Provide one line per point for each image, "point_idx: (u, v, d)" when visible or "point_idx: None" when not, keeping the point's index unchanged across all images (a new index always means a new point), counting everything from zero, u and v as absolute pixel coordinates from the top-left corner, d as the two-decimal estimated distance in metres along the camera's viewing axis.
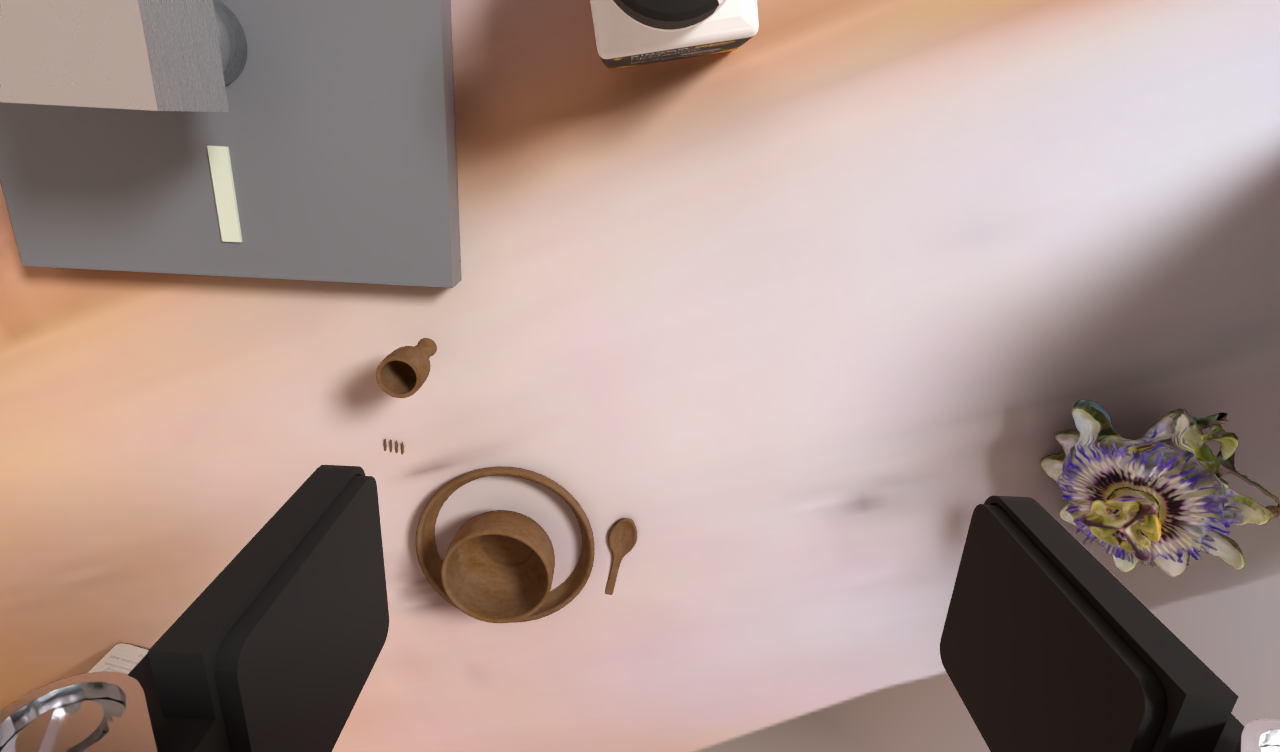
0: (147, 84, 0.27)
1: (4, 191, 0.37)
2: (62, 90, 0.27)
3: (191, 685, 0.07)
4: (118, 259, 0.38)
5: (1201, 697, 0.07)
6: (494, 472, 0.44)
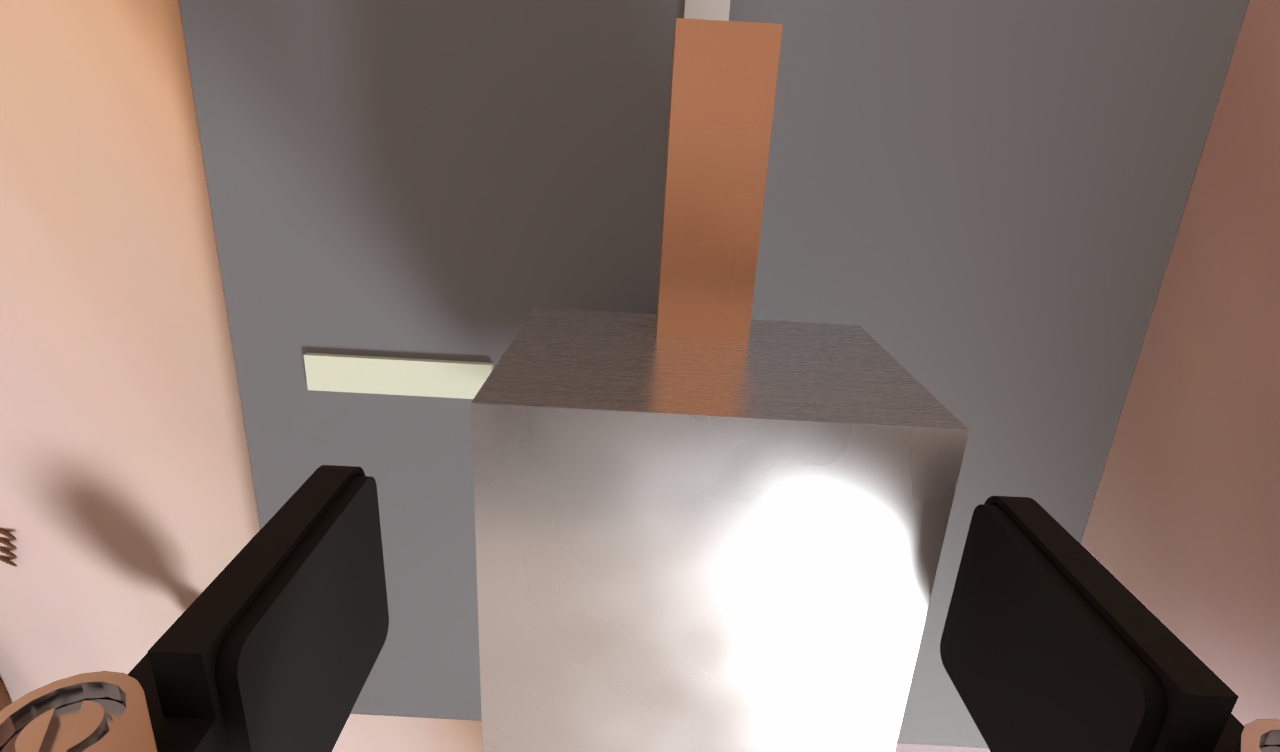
0: None
1: None
2: (517, 589, 0.10)
3: (191, 685, 0.07)
4: (221, 108, 0.16)
5: (1201, 697, 0.07)
6: None
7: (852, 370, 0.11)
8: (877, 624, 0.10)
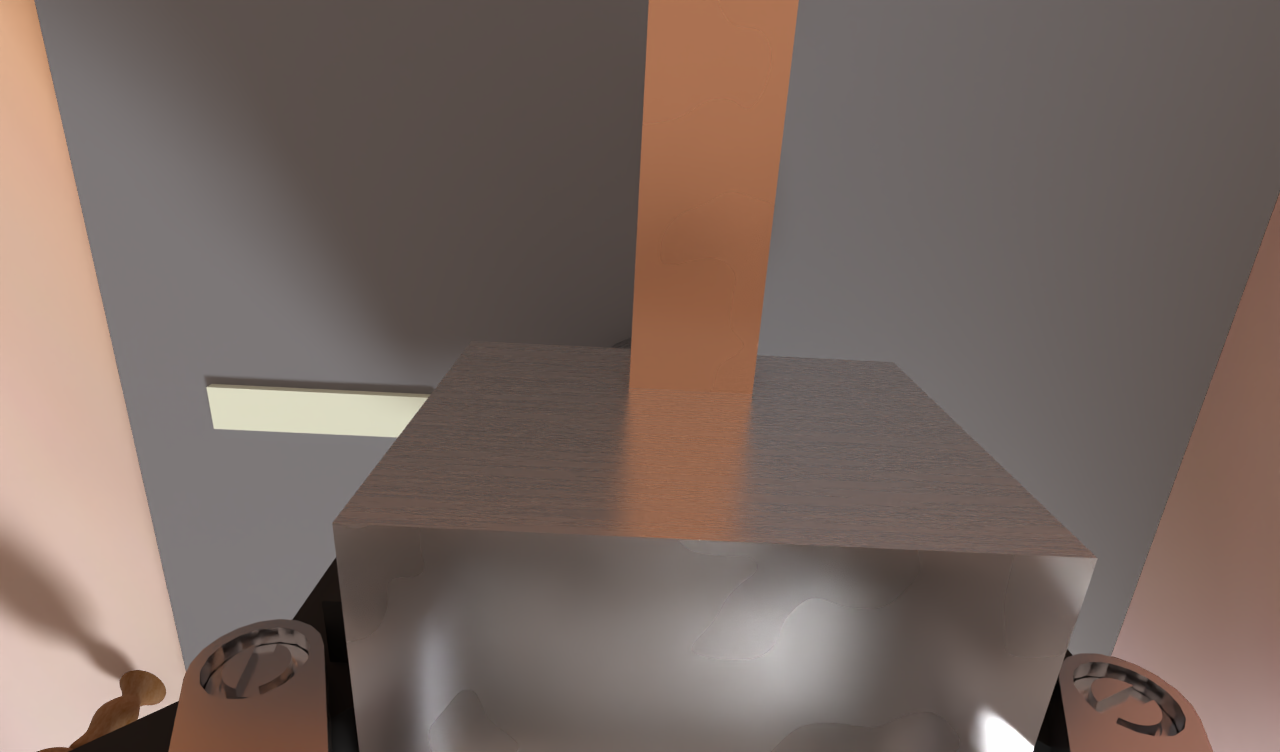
0: None
1: None
2: None
3: None
4: (87, 83, 0.13)
5: None
6: None
7: (899, 441, 0.08)
8: None
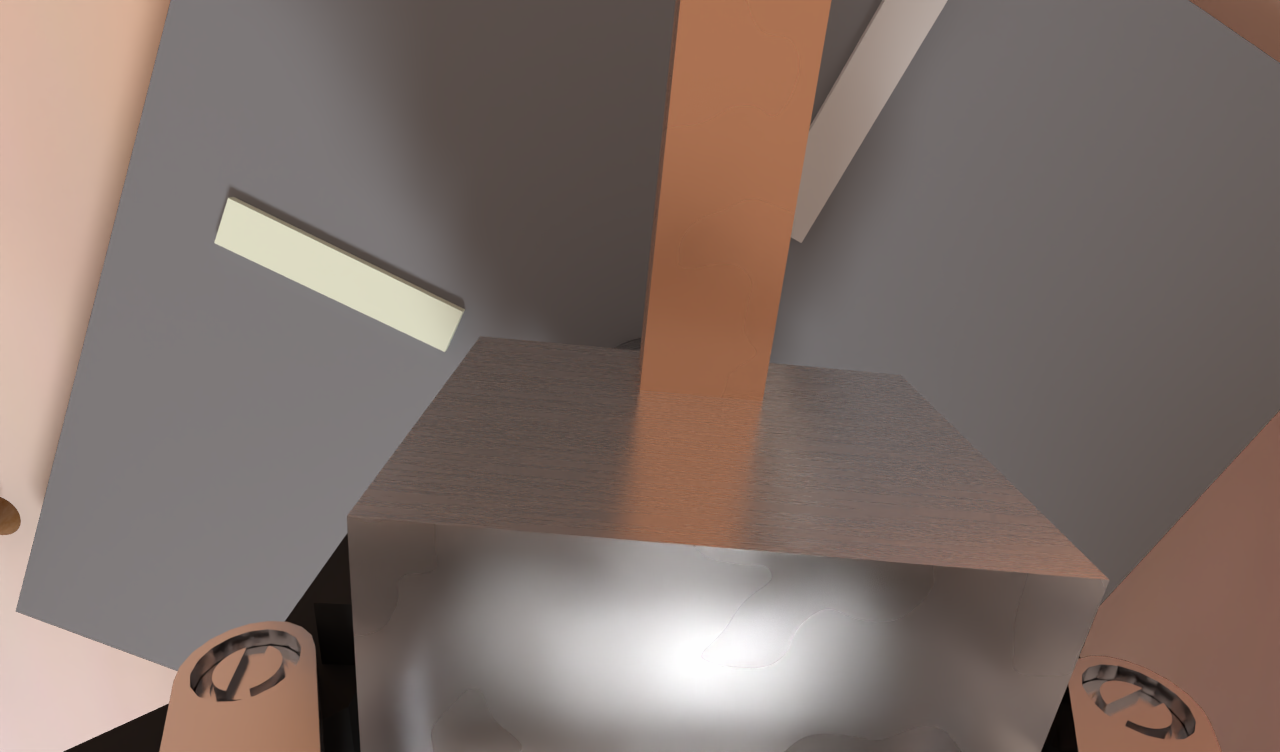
0: None
1: None
2: None
3: (349, 634, 0.07)
4: None
5: None
6: None
7: (910, 455, 0.08)
8: None
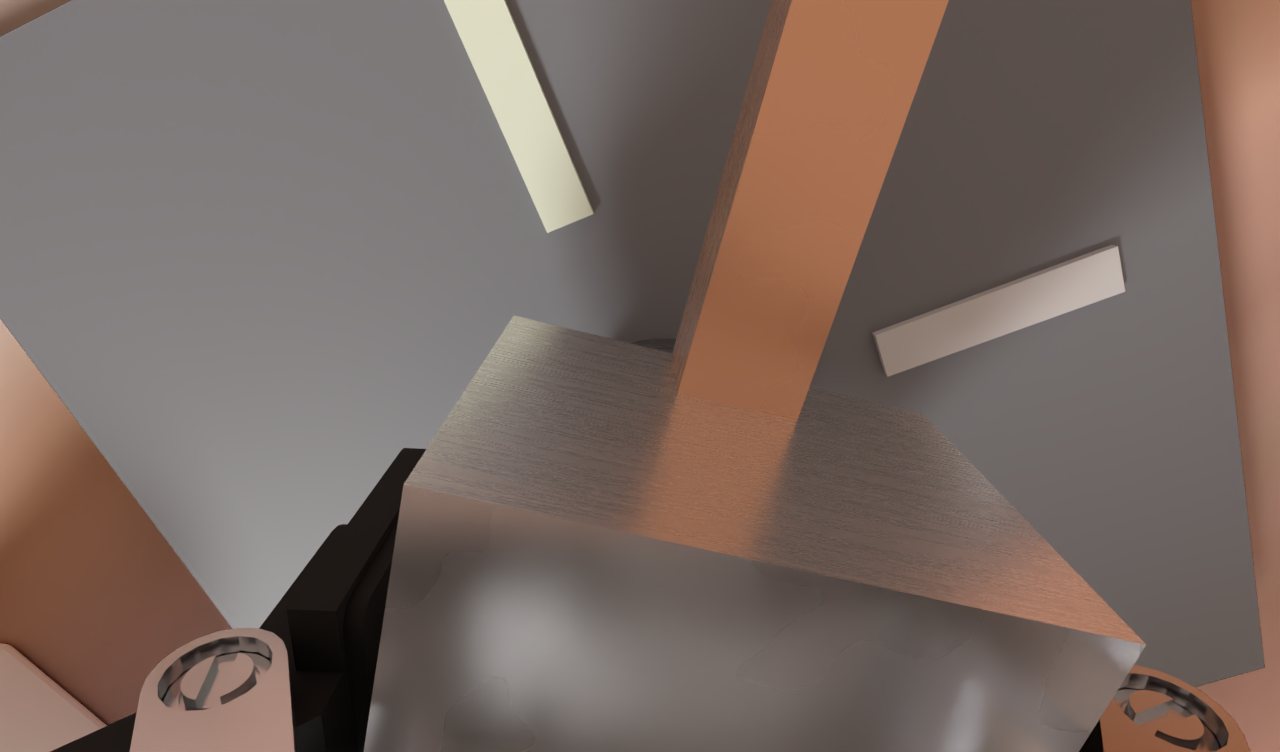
0: None
1: None
2: None
3: (323, 640, 0.07)
4: None
5: None
6: None
7: (943, 495, 0.08)
8: None
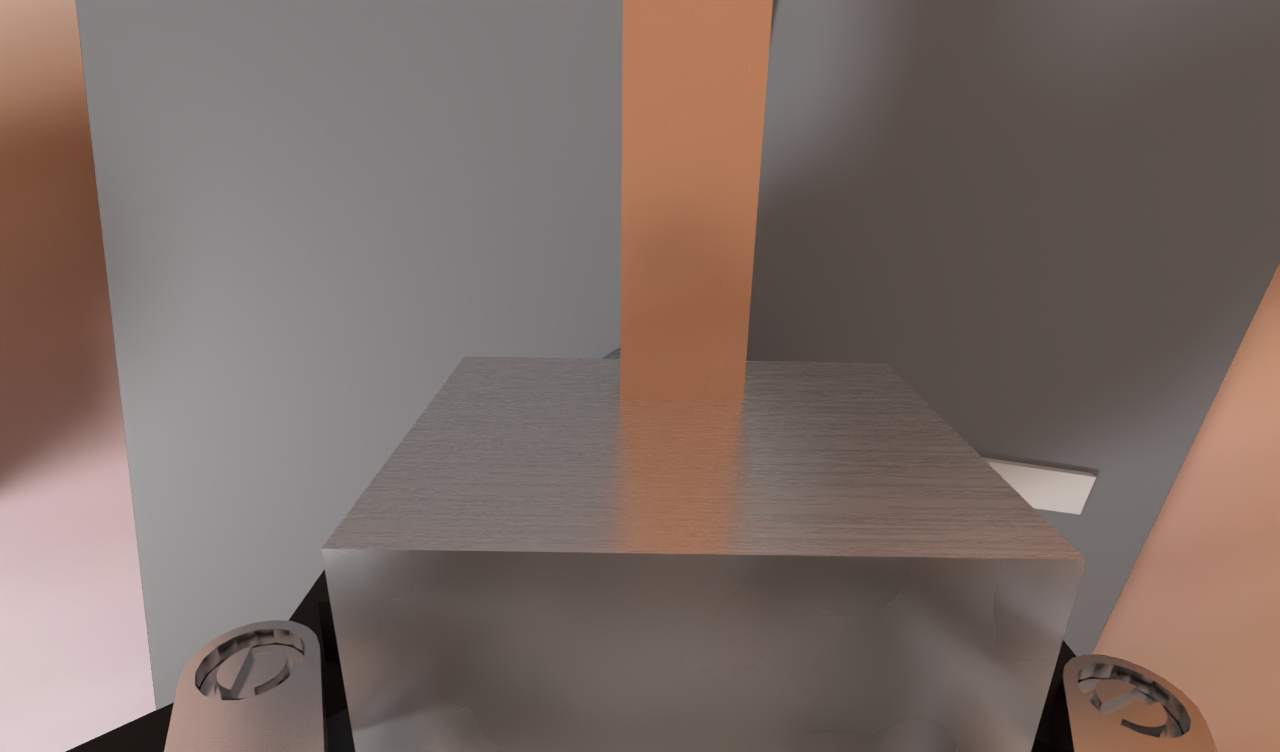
0: None
1: None
2: None
3: None
4: None
5: None
6: None
7: (889, 446, 0.08)
8: None
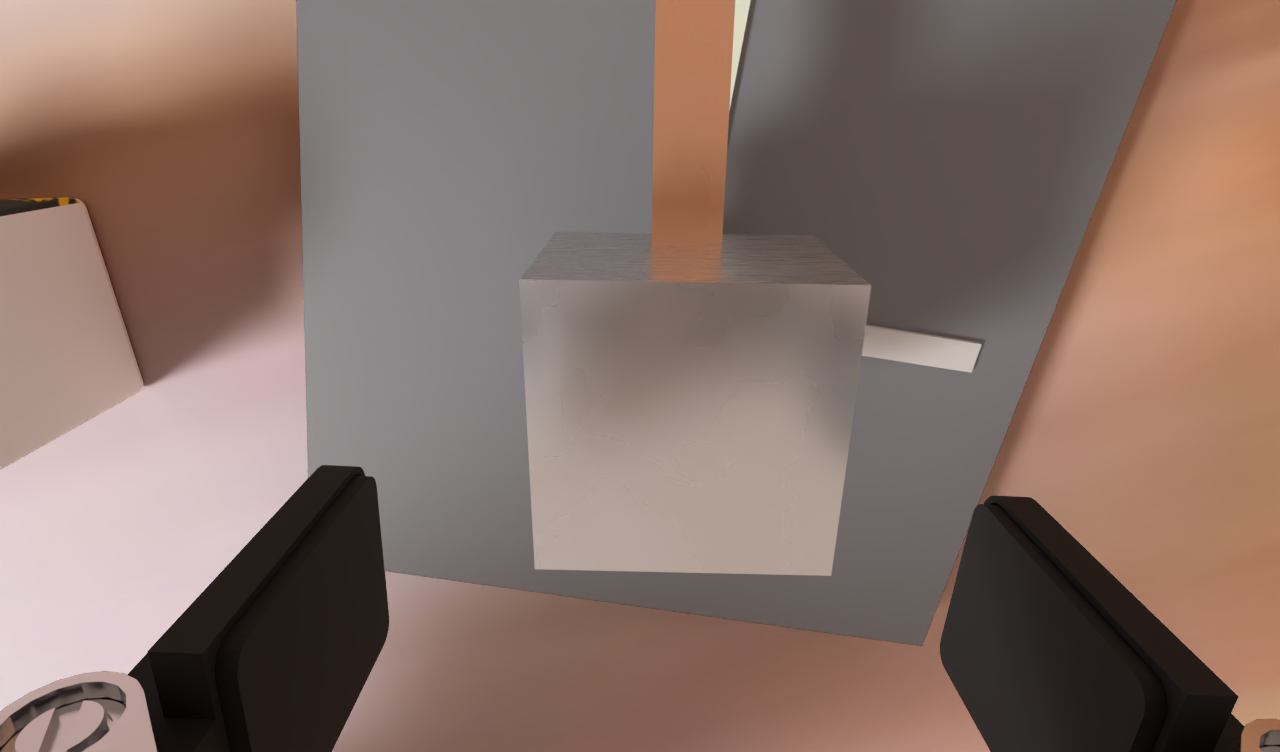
0: (578, 563, 0.15)
1: (1131, 110, 0.20)
2: (555, 420, 0.14)
3: (191, 685, 0.07)
4: None
5: (1201, 697, 0.07)
6: None
7: (797, 259, 0.14)
8: (816, 437, 0.14)
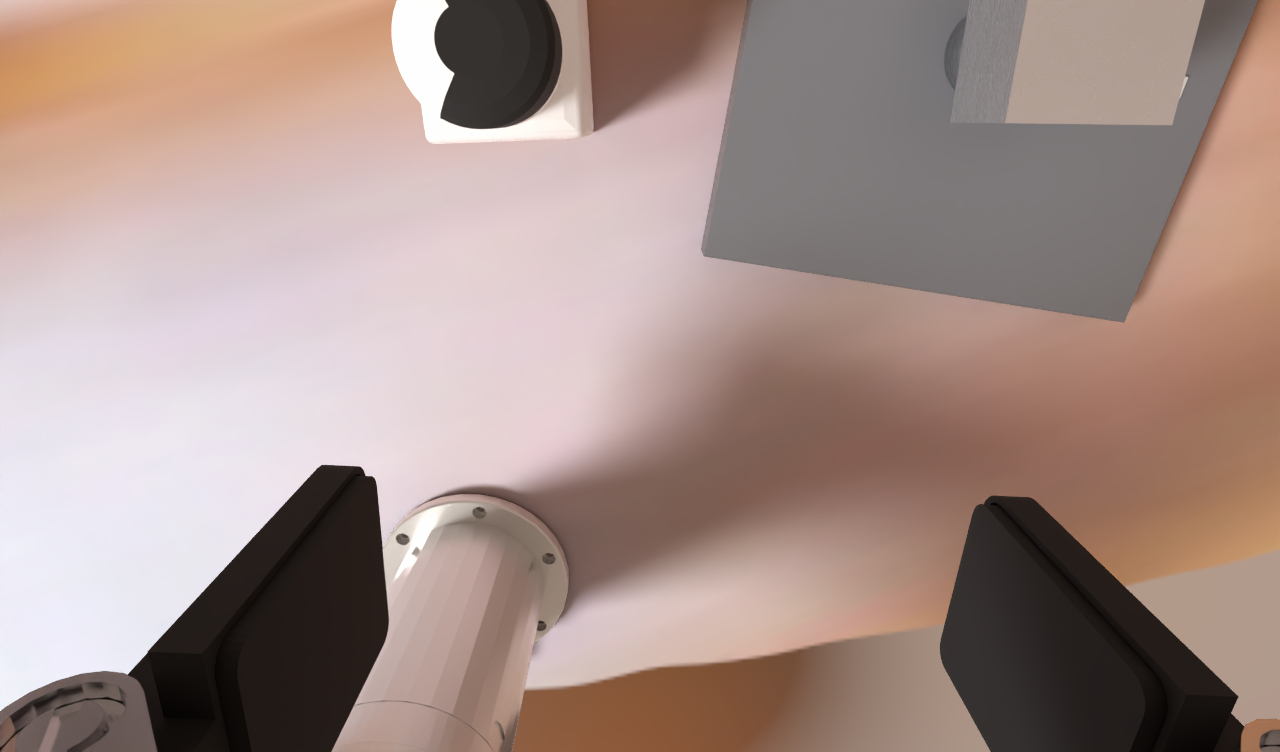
0: (1031, 118, 0.26)
1: None
2: (1040, 18, 0.25)
3: (191, 685, 0.07)
4: None
5: (1201, 697, 0.07)
6: None
7: None
8: (1179, 28, 0.25)
